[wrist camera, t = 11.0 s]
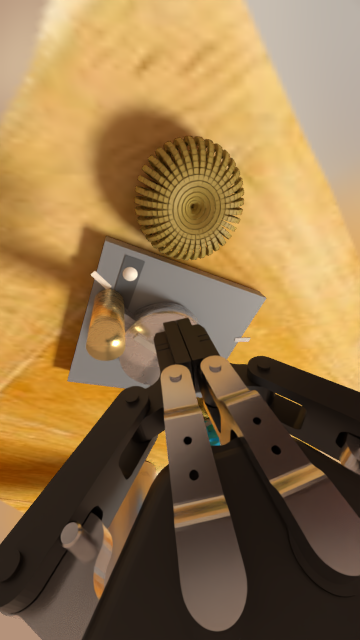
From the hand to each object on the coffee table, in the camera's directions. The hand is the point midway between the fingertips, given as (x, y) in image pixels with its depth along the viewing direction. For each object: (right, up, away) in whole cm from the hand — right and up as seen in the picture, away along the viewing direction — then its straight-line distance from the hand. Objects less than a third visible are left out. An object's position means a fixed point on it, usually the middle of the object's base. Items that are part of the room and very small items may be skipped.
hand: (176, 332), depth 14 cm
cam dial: (-1, -1, +10) cm, 10 cm away
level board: (-2, 0, +11) cm, 11 cm away
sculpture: (0, +10, +5) cm, 12 cm away
